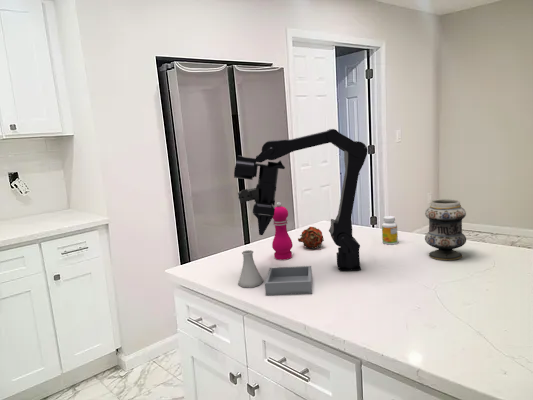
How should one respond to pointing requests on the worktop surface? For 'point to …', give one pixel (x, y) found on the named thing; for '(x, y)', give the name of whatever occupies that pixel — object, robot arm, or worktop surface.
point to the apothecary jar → (445, 228)
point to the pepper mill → (281, 234)
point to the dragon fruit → (311, 237)
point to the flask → (249, 271)
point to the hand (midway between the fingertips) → (261, 231)
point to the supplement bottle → (389, 230)
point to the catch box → (289, 280)
